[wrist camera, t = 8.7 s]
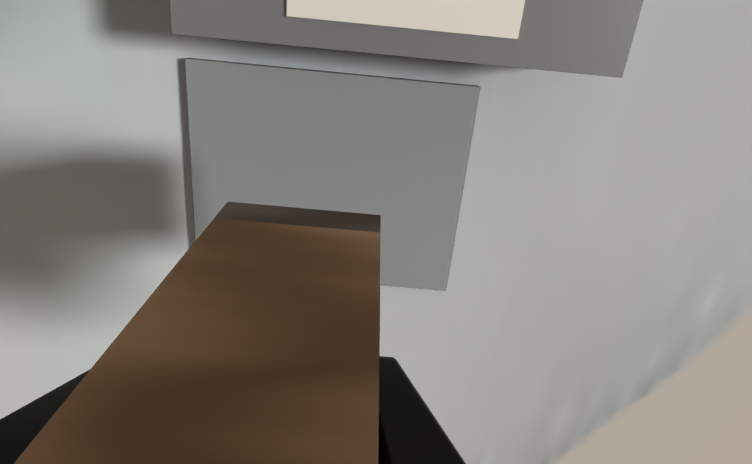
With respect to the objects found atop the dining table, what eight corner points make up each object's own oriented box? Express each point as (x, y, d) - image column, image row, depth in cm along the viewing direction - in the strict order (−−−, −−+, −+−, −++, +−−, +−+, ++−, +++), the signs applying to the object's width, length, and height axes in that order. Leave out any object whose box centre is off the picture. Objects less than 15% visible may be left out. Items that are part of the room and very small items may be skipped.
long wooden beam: (380, 215, 12) (371, 998, 2) (367, 340, 13) (332, 1138, 4) (227, 201, 11) (-395, 962, 2) (231, 329, 13) (-145, 1119, 4)
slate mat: (478, 86, 17) (480, 87, 17) (445, 285, 21) (446, 290, 20) (189, 57, 17) (185, 58, 17) (200, 265, 20) (197, 269, 20)
